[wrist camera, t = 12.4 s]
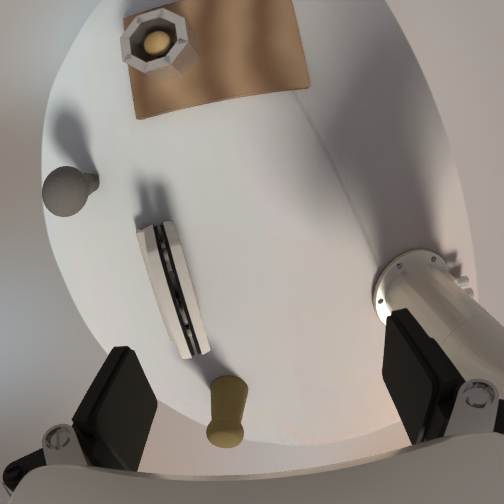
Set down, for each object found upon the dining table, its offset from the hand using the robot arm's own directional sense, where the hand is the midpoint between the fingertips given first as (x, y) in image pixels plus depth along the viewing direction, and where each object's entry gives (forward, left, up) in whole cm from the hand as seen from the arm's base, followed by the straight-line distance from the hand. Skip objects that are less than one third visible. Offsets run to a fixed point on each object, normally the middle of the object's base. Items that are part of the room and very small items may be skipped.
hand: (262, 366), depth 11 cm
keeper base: (+2, -20, -28) cm, 35 cm away
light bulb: (+20, -7, -28) cm, 36 cm away
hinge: (+12, +8, -29) cm, 32 cm away
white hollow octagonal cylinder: (+7, -20, -27) cm, 34 cm away
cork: (+9, +28, -28) cm, 41 cm away
